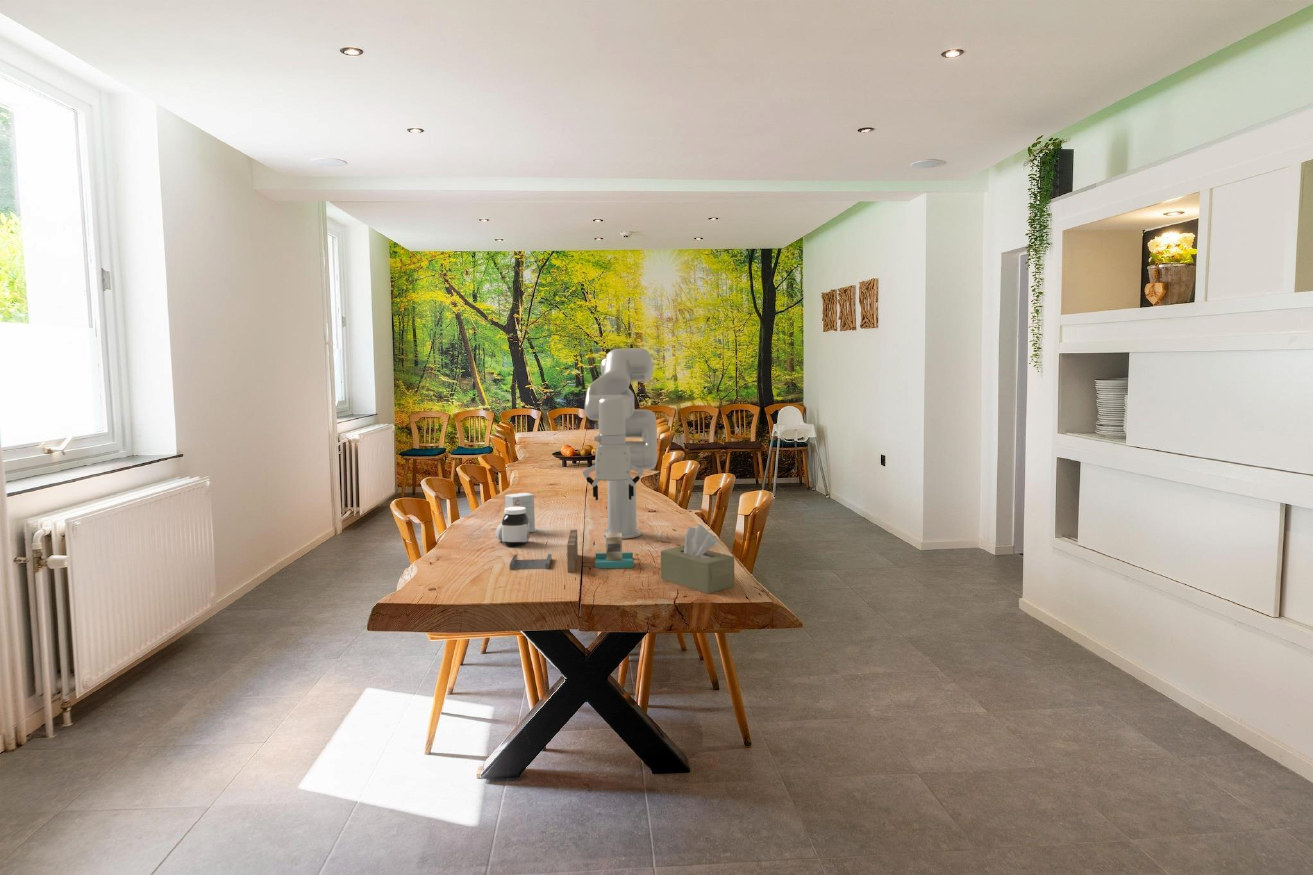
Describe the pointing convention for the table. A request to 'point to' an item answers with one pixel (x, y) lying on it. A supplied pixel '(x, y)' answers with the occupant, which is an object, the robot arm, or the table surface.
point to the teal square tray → (625, 563)
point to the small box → (523, 505)
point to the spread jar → (514, 527)
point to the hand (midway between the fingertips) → (613, 499)
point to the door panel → (572, 551)
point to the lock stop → (613, 546)
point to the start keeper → (530, 563)
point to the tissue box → (698, 563)
